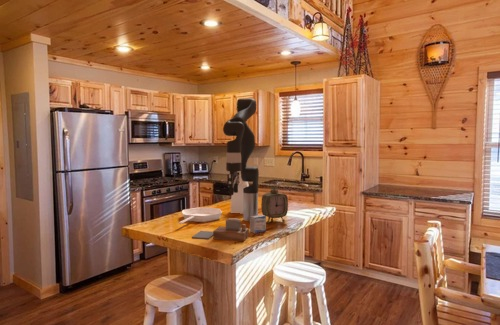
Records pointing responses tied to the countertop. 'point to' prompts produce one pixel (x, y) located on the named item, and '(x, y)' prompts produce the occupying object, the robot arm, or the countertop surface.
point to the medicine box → (257, 223)
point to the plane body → (231, 234)
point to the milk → (238, 197)
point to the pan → (201, 214)
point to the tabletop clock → (274, 204)
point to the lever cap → (233, 224)
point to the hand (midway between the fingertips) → (233, 193)
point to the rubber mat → (203, 235)
